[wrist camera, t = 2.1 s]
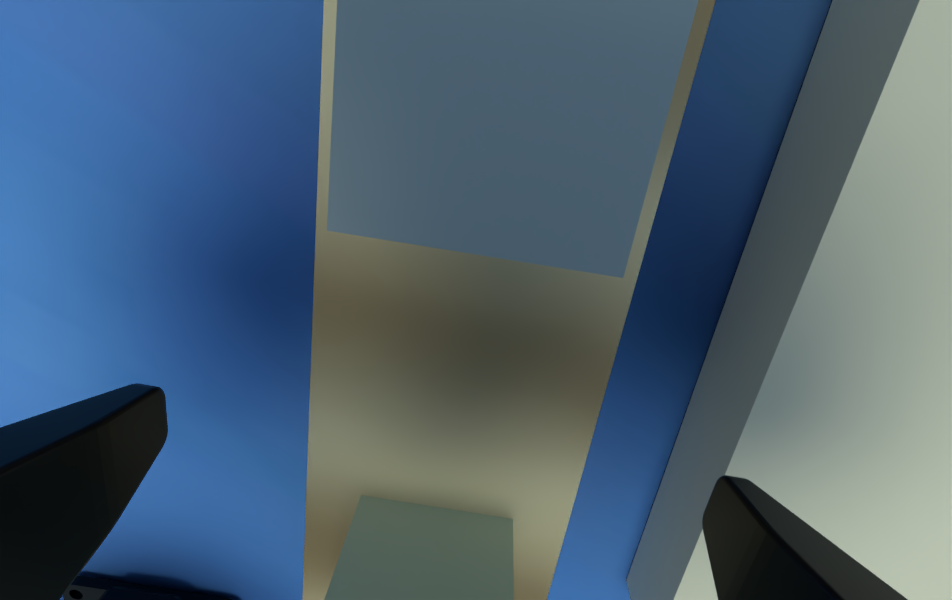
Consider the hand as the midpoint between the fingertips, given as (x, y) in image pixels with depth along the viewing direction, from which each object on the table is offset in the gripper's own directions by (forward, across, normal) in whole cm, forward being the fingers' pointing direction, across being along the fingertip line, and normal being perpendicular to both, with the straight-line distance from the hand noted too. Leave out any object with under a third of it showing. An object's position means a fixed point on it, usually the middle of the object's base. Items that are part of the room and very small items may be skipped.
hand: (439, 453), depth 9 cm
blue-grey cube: (+2, 0, -6) cm, 6 cm away
